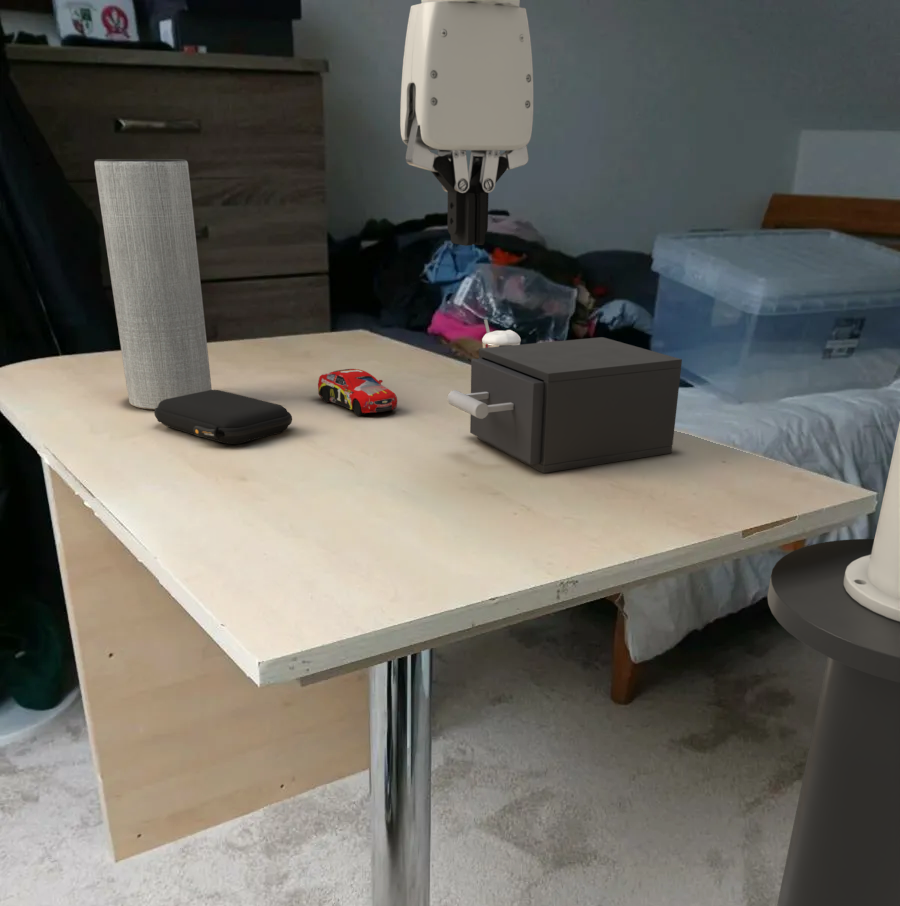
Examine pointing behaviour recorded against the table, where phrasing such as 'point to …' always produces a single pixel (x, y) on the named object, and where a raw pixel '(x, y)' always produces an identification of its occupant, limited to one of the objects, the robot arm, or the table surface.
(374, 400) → the race car
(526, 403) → the drawer
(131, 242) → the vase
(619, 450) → the cabinet
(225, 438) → the carrying case
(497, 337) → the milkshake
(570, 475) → the table surface
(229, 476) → the table surface
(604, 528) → the table surface
